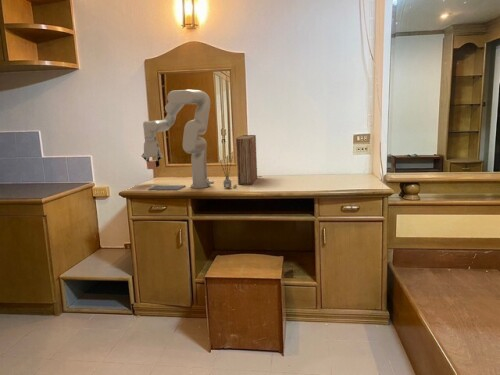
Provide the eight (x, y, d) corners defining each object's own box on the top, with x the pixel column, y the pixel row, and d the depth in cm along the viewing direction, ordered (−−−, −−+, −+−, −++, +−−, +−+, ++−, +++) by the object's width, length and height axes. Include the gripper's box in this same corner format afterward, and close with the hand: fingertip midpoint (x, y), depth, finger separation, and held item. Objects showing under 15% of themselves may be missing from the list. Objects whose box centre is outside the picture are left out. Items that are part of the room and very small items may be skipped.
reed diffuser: (220, 189, 238) (218, 156, 235) (221, 187, 245) (219, 155, 241) (236, 188, 238) (235, 155, 235) (237, 186, 245) (235, 154, 241)
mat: (185, 186, 252) (185, 185, 252) (178, 190, 240) (178, 189, 240) (156, 186, 256) (156, 185, 256) (148, 190, 245) (148, 189, 245)
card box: (159, 167, 267) (158, 159, 266) (155, 169, 259) (154, 161, 258) (151, 167, 268) (151, 160, 267) (147, 169, 260) (146, 161, 259)
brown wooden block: (252, 184, 249) (250, 137, 244) (237, 184, 251) (235, 137, 245) (257, 177, 274) (255, 134, 268) (244, 178, 275) (242, 135, 270)
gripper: (164, 138, 262) (167, 165, 265) (141, 140, 265) (144, 166, 269) (160, 139, 254) (162, 167, 258) (136, 140, 258) (139, 167, 261)
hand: (153, 166), depth 263 cm, fingers closed on card box, 5 cm apart
